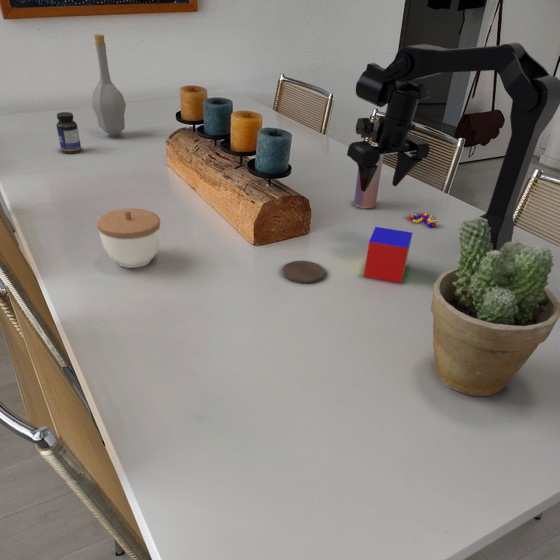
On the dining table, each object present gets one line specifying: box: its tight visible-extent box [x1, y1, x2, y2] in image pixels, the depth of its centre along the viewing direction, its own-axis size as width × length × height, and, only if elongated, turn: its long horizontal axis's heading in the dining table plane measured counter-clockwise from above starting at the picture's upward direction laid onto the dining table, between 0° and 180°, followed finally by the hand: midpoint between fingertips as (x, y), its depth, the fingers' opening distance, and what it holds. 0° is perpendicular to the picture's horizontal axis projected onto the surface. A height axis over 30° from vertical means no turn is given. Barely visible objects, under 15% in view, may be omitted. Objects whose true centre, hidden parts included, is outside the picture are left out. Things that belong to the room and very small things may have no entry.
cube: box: [363, 226, 413, 284], centre depth 116 cm, size 8×8×8 cm
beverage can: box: [353, 144, 384, 210], centre depth 143 cm, size 6×6×15 cm
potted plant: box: [430, 216, 560, 397], centre depth 83 cm, size 18×19×25 cm
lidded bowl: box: [96, 208, 161, 269], centre depth 114 cm, size 13×13×11 cm
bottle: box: [91, 33, 127, 137], centre depth 178 cm, size 11×11×30 cm
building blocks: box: [407, 212, 438, 228], centre depth 141 cm, size 6×8×2 cm
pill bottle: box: [55, 111, 82, 155], centre depth 170 cm, size 6×6×11 cm
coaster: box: [282, 260, 326, 284], centre depth 116 cm, size 9×9×1 cm
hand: (378, 188), depth 121 cm, fingers open, 9 cm apart
